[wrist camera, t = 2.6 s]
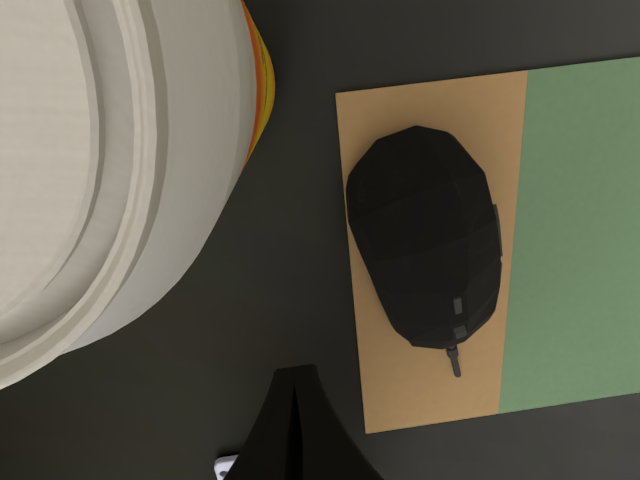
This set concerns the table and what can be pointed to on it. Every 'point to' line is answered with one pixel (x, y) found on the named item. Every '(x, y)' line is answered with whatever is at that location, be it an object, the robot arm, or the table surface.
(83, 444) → the table surface
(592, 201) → the desk mat
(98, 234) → the beer can
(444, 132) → the gaming mouse
